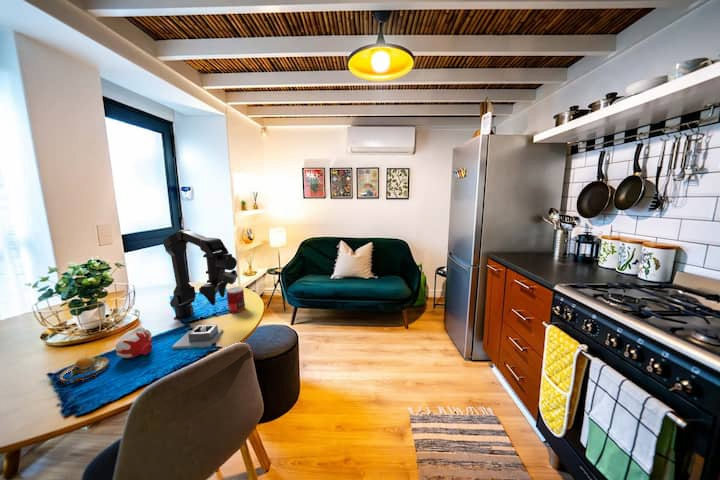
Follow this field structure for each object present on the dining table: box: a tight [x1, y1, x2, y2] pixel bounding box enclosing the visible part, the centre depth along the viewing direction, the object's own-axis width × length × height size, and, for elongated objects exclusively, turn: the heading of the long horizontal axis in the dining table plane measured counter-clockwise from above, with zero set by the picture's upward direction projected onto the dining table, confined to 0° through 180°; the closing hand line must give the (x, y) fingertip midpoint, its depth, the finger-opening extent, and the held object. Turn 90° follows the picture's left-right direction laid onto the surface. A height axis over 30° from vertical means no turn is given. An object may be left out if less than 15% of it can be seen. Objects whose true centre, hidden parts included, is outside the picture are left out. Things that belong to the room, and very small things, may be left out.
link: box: [188, 324, 219, 342], centre depth 106 cm, size 8×7×4 cm
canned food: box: [226, 286, 246, 314], centre depth 133 cm, size 8×8×11 cm
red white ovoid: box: [115, 325, 153, 360], centre depth 96 cm, size 9×11×15 cm
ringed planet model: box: [57, 354, 110, 384], centre depth 86 cm, size 12×12×8 cm
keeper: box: [171, 327, 224, 350], centre depth 106 cm, size 14×12×5 cm
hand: (218, 301), depth 115 cm, fingers open, 9 cm apart
